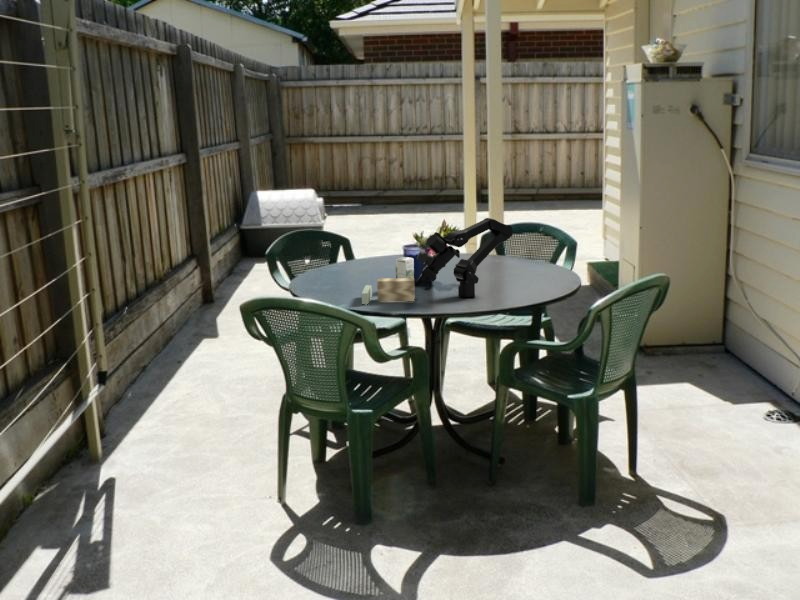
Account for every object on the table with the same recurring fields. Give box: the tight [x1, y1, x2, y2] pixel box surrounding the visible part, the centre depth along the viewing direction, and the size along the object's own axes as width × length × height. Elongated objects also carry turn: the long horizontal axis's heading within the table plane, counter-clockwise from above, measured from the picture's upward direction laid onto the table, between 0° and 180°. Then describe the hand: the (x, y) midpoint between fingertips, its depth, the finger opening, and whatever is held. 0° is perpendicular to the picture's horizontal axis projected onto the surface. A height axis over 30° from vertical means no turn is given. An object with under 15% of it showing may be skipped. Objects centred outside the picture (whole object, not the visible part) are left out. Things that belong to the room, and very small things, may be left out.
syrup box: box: [395, 256, 415, 279], centre depth 378 cm, size 6×6×14 cm
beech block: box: [376, 277, 416, 302], centre depth 360 cm, size 15×6×9 cm, turn 86°
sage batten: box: [361, 284, 373, 305], centre depth 362 cm, size 2×16×5 cm, turn 176°
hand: (415, 284), depth 359 cm, fingers closed
